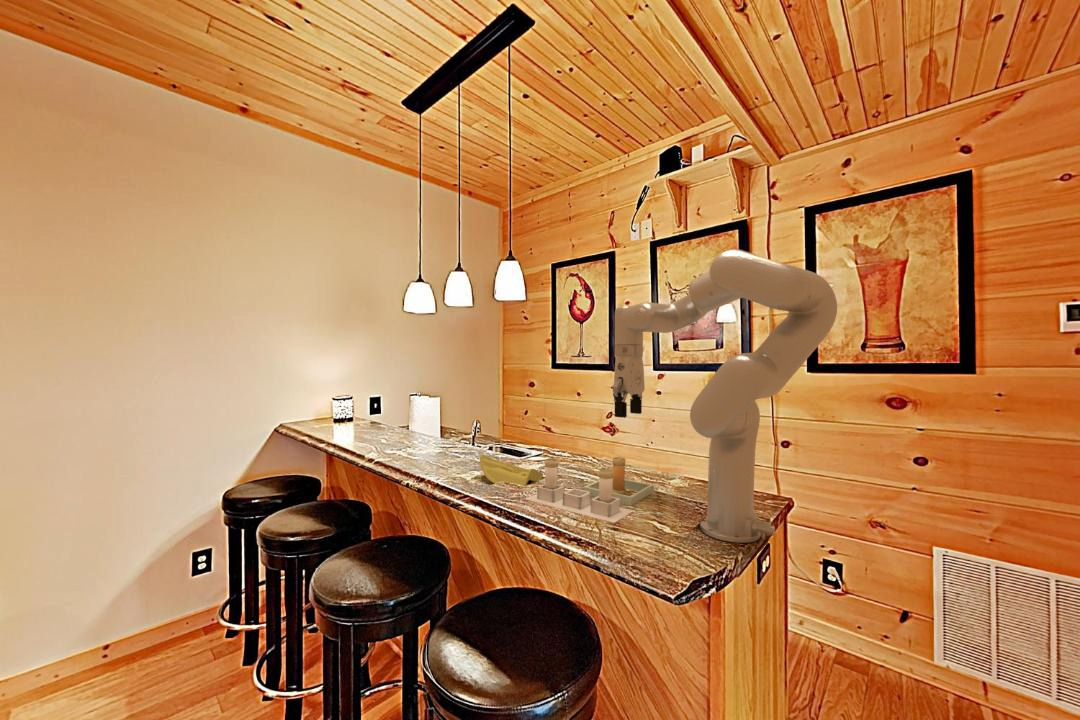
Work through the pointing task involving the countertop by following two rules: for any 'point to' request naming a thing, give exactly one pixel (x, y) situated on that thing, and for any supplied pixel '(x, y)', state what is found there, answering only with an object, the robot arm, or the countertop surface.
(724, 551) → the countertop surface
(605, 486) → the cylinder
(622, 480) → the cylinder
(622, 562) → the countertop surface
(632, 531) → the countertop surface
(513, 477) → the plastic component
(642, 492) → the tray
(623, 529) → the countertop surface
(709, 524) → the robot arm
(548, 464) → the cylinder
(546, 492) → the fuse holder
